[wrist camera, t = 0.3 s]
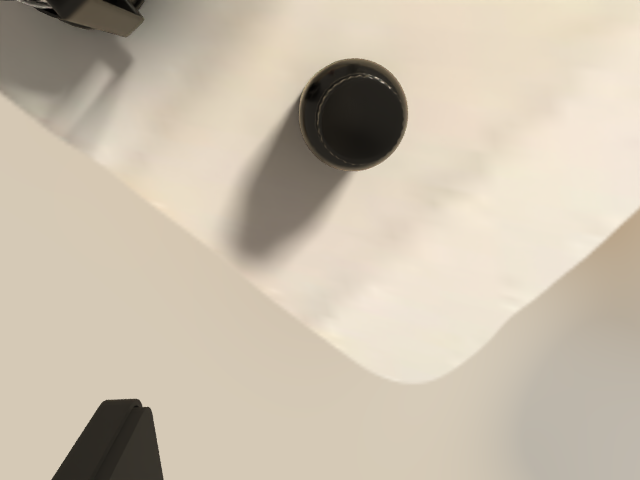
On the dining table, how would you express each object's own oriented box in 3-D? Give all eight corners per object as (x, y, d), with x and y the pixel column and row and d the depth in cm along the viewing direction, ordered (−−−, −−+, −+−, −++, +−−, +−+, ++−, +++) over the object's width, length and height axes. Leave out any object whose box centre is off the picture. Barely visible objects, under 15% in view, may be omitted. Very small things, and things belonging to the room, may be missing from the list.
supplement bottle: (300, 154, 37) (296, 183, 26) (298, 63, 35) (294, 52, 24) (384, 153, 38) (418, 182, 26) (388, 63, 35) (426, 52, 24)
